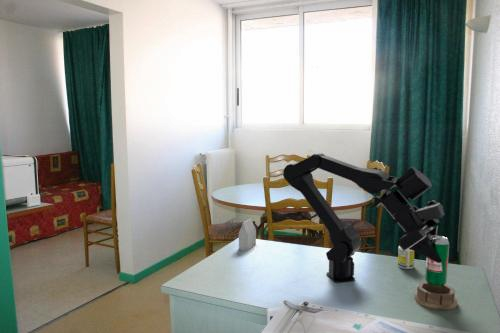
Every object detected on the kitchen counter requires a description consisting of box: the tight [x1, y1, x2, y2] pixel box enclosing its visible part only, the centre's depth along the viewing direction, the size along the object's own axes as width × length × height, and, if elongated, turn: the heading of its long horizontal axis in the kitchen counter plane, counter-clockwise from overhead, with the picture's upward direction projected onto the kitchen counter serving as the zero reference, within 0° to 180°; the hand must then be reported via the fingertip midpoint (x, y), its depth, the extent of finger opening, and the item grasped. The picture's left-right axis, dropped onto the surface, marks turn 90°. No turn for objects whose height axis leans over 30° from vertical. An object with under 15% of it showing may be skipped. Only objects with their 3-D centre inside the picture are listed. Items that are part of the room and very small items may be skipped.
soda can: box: [424, 234, 450, 286], centre depth 103 cm, size 5×5×12 cm
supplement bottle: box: [397, 245, 415, 270], centre depth 128 cm, size 5×5×8 cm
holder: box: [414, 281, 458, 311], centre depth 105 cm, size 10×10×4 cm
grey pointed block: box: [238, 218, 257, 251], centre depth 148 cm, size 4×7×10 cm, turn 154°
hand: (442, 258), depth 103 cm, fingers closed on soda can, 5 cm apart
